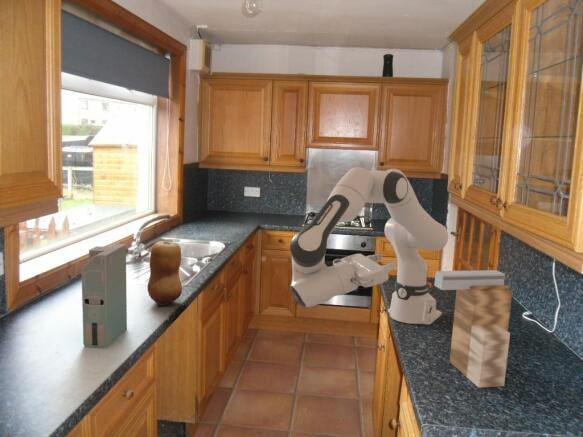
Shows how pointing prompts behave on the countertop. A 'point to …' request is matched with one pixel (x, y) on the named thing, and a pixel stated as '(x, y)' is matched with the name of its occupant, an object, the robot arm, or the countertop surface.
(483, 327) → the tall wood grain block
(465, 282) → the foil carton
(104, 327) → the device
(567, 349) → the countertop surface
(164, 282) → the butternut squash
